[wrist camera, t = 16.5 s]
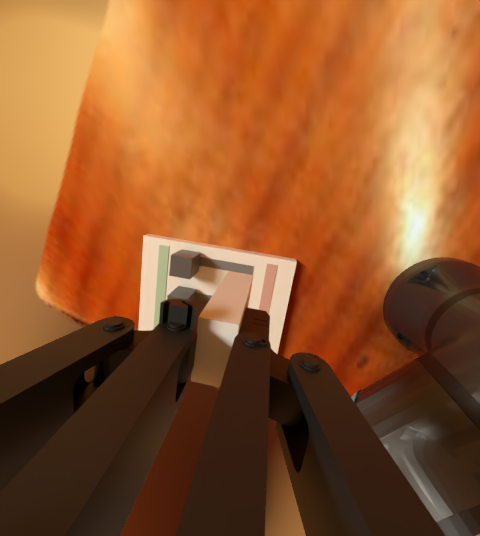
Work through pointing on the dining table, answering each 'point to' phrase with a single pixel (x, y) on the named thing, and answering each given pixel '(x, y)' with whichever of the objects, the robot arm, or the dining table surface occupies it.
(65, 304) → the dining table surface
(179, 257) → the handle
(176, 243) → the panel
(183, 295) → the handle middle
